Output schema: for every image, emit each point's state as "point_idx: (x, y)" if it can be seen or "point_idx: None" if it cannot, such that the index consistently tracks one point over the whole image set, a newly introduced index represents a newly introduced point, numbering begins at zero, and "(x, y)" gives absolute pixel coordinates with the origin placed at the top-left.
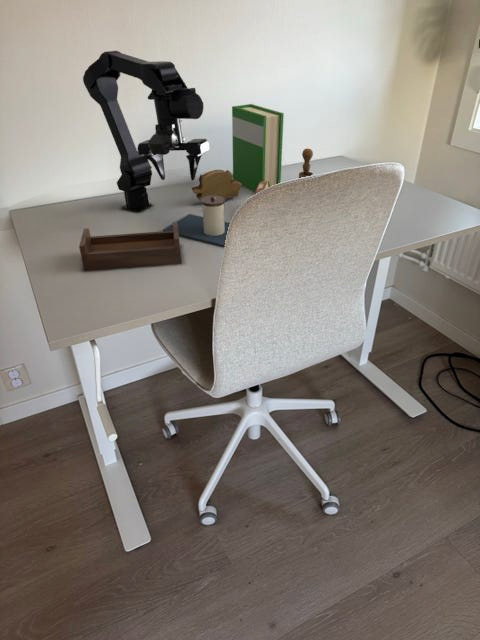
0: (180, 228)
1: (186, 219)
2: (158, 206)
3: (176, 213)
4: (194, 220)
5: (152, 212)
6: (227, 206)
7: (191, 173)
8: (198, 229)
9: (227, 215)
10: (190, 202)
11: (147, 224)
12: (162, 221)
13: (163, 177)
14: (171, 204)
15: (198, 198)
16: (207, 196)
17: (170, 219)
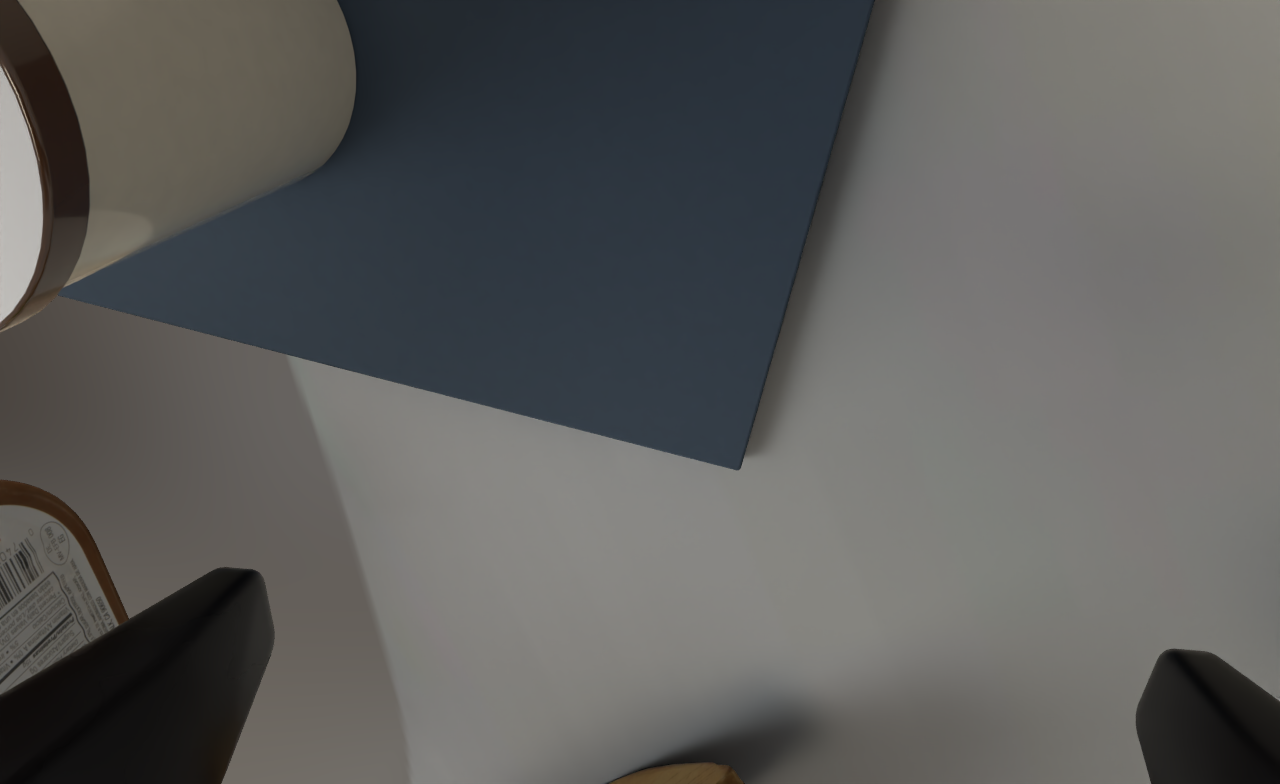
0: (671, 5)
1: (708, 311)
2: (1228, 645)
3: (925, 496)
4: (600, 306)
5: (1270, 473)
6: (462, 722)
7: (83, 679)
8: (431, 50)
9: (362, 538)
10: (863, 771)
11: (1251, 70)
12: (1038, 231)
13: (1174, 728)
14: (1070, 710)
15: (734, 774)
16: (12, 262)
17: (944, 317)
